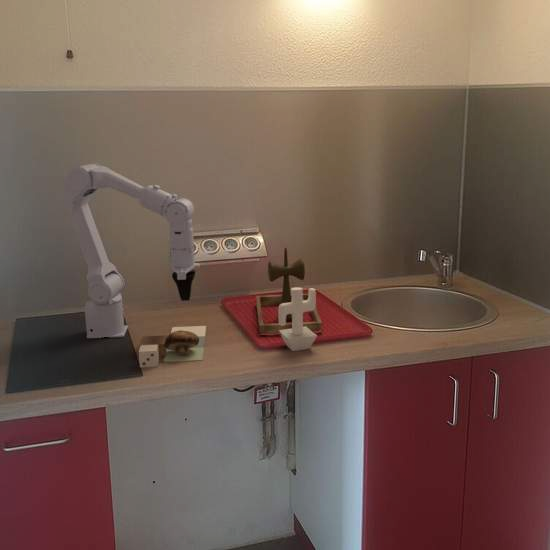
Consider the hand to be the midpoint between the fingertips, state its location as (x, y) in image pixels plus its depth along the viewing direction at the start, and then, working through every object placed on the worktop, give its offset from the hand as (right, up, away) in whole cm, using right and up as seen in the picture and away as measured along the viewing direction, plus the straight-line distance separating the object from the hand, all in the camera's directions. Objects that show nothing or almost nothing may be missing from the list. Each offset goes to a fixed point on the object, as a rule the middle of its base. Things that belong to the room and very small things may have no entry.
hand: (185, 299), depth 175 cm
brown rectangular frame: (+26, -6, +14) cm, 30 cm away
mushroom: (+1, -13, -9) cm, 16 cm away
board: (+1, -11, -2) cm, 11 cm away
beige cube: (-7, -12, -13) cm, 19 cm away
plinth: (-7, -12, -7) cm, 16 cm away
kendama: (+26, -6, +15) cm, 30 cm away
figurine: (+28, -12, -7) cm, 31 cm away
